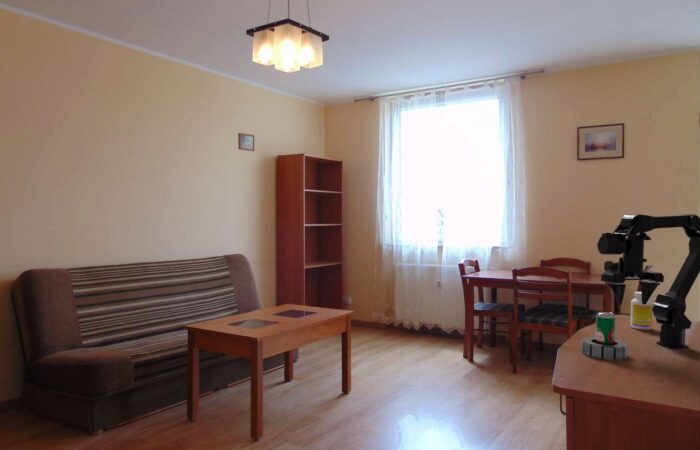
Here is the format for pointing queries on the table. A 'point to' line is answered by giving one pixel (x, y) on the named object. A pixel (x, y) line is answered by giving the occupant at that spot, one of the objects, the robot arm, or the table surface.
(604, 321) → the soda can
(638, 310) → the supplement bottle
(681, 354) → the table surface
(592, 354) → the ring
